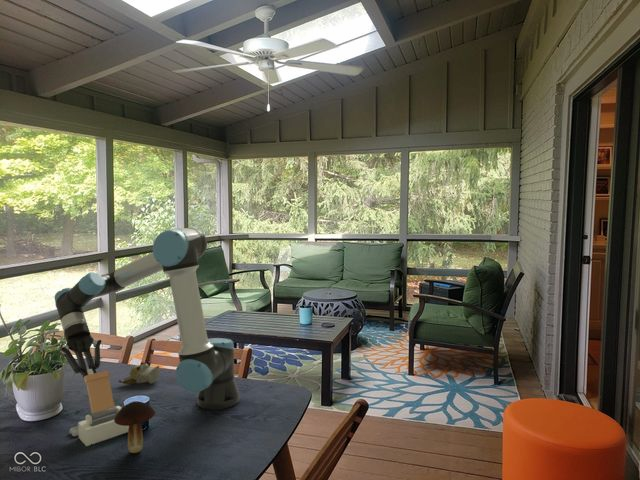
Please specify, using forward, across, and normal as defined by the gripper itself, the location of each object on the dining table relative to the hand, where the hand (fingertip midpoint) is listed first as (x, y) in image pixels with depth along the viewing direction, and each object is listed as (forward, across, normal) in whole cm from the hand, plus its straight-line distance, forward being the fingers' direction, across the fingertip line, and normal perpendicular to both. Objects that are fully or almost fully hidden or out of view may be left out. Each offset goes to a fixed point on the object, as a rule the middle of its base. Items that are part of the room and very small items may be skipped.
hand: (94, 388), depth 148 cm
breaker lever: (+11, 0, +1) cm, 11 cm away
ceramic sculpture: (-9, -26, -28) cm, 39 cm away
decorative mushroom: (+27, -3, +9) cm, 28 cm away
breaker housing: (+13, 0, -5) cm, 14 cm away
